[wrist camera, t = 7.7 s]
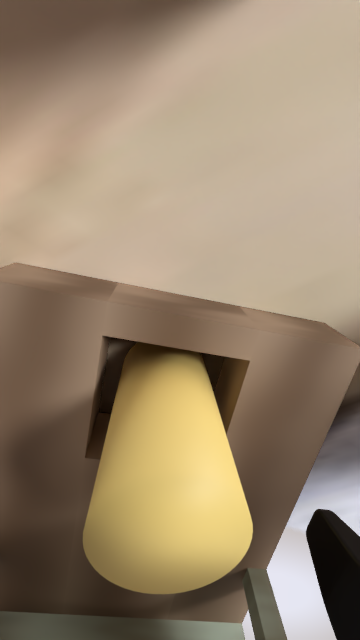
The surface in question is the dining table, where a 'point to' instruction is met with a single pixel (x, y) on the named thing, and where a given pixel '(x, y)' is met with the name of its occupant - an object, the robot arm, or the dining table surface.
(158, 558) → the peg
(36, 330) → the socket stand
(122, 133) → the dining table surface
